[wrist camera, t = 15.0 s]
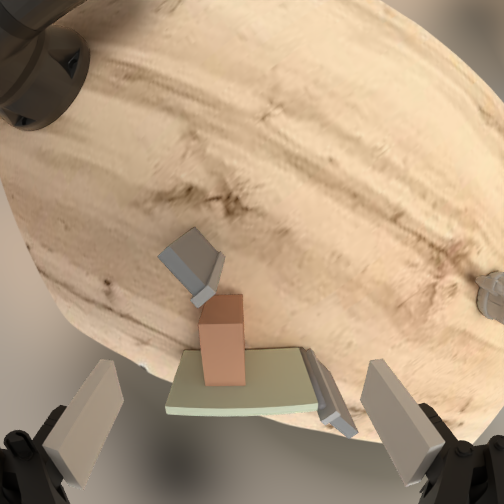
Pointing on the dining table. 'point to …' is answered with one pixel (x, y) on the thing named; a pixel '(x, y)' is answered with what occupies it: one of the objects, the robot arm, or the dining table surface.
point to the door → (248, 386)
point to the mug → (491, 295)
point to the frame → (205, 286)
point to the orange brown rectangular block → (223, 341)
